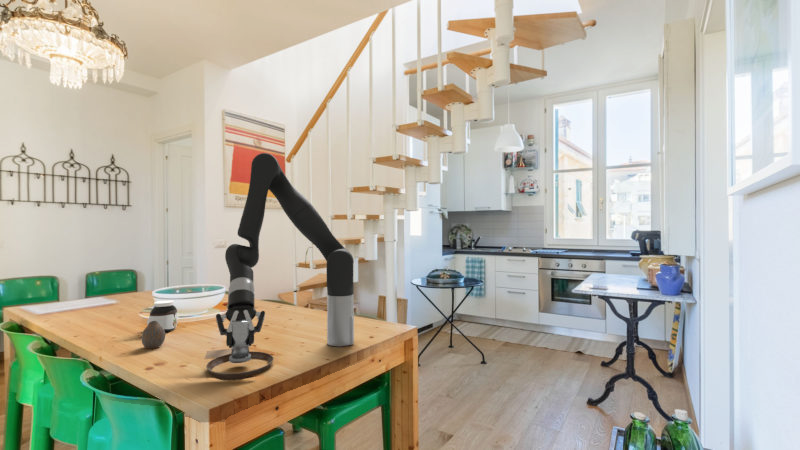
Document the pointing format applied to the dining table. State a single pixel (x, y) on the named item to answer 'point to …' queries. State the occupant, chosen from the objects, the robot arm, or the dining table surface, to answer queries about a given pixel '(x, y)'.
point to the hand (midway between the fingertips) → (240, 345)
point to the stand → (217, 353)
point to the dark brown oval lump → (153, 335)
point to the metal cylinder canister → (240, 341)
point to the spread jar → (164, 315)
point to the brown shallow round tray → (241, 374)
